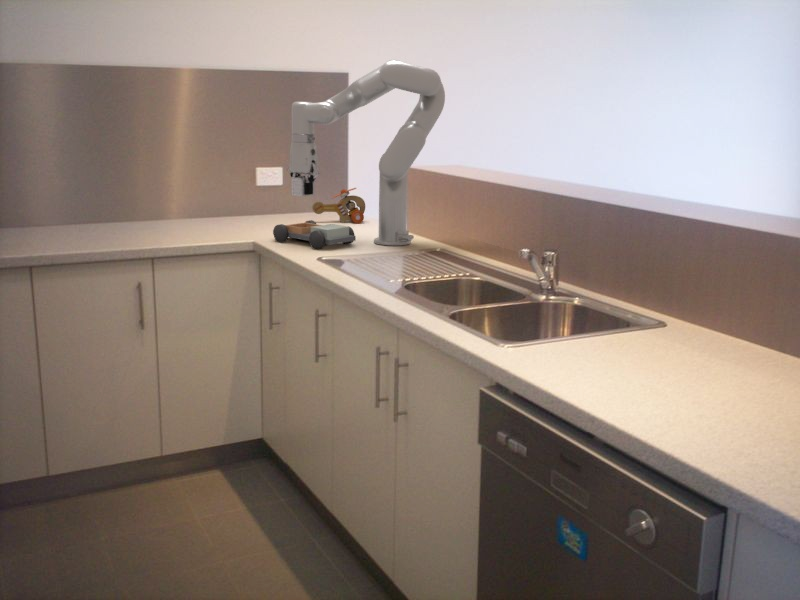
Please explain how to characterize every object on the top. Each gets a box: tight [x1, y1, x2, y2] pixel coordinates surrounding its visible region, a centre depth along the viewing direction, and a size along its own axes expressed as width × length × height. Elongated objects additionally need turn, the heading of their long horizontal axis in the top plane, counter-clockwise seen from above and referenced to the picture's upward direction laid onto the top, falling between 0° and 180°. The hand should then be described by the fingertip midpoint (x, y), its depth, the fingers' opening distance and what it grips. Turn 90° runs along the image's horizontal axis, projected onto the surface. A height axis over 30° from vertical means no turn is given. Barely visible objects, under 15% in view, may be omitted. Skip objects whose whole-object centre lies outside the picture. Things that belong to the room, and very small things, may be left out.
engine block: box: [290, 175, 316, 198], centre depth 299 cm, size 5×6×6 cm
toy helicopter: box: [311, 187, 366, 224], centre depth 345 cm, size 8×21×14 cm, turn 101°
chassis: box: [272, 219, 356, 250], centre depth 299 cm, size 28×15×6 cm, turn 48°
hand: (303, 193), depth 299 cm, fingers closed on engine block, 5 cm apart
